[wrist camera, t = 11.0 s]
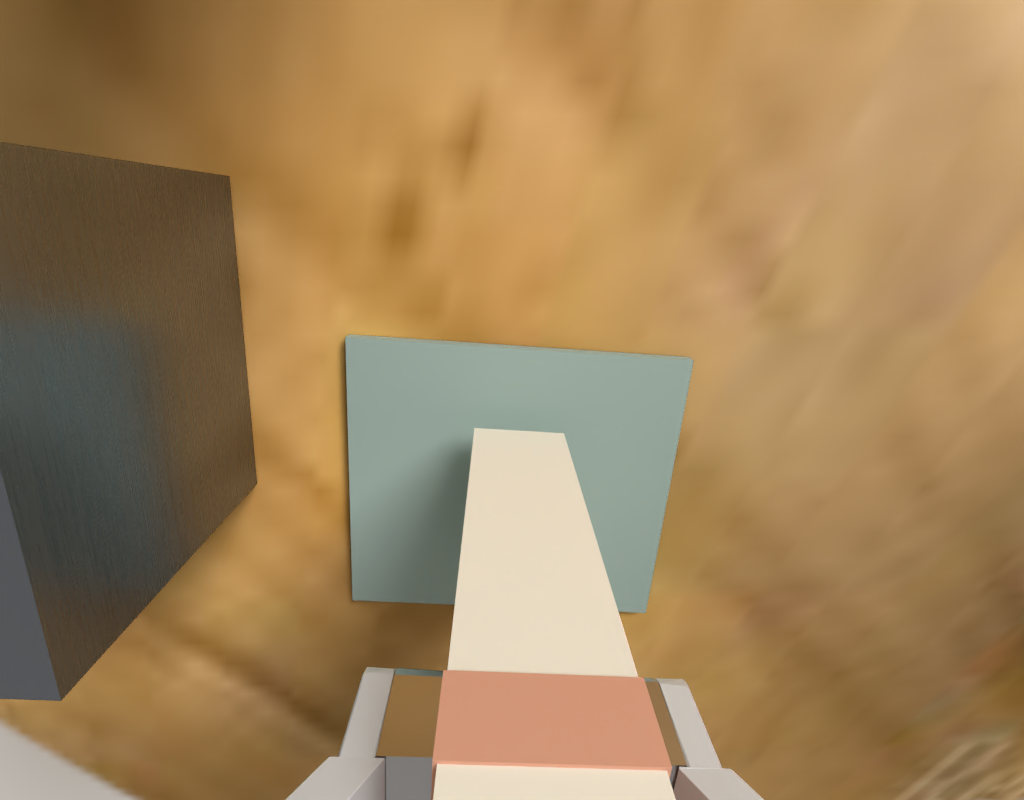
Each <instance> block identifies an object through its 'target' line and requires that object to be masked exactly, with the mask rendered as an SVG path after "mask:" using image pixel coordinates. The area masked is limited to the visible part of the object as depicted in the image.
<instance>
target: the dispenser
mask: <svg viewBox="0 0 1024 800" xmlns="http://www.w3.org/2000/svg"><path fill="white" fill-rule="evenodd" d="M256 484H257V479H256V468H255V456H254V445H253V434H252V423H251V412H250V401H249V390H248V379H247V368H246V357H245V345H244V334H243V323H242V312H241V301H240V290H239V279H238V268H237V257H236V246H235V234H234V223H233V212H232V201H231V190H230V179H229V176H224V175H217V174H211V173H204V172H197V171H191V170H184V169H177V168H171V167H164V166H157V165H151V164H144V163H137V162H130V161H124V160H117V159H110V158H104V157H97V156H90V155H84V154H77V153H70V152H64V151H57V150H50V149H44V148H37V147H30V146H24V145H17V144H10V143H4V142H0V699H24V700H54V701H61V700H62V699H63V698H64V697H65V696H66V695H67V694H68V692H69V691H70V690H71V689H72V688H73V687H74V686H75V685H76V684H77V682H78V681H79V680H80V679H81V678H82V677H83V676H84V675H85V674H86V672H87V671H88V670H89V669H90V668H91V667H92V666H93V665H94V664H95V663H96V661H97V660H98V659H99V658H100V657H101V656H102V655H103V654H104V653H105V651H106V650H107V649H108V648H109V647H110V646H111V645H112V644H113V643H114V641H115V640H116V639H117V638H118V637H119V636H120V635H121V634H122V633H123V631H124V630H125V629H126V628H127V627H128V626H129V625H130V624H131V623H132V621H133V620H134V619H135V618H136V617H137V616H138V615H139V614H140V613H141V611H142V610H143V609H144V608H145V607H146V606H147V605H148V604H149V603H150V602H151V600H152V599H153V598H154V597H155V596H156V595H157V594H158V593H159V592H160V590H161V589H162V588H163V587H164V586H165V585H166V584H167V583H168V582H169V580H170V579H171V578H172V577H173V576H174V575H175V574H176V573H177V572H178V570H179V569H180V568H181V567H182V566H183V565H184V564H185V563H186V562H187V560H188V559H189V558H190V557H191V556H192V555H193V554H194V553H195V552H196V550H197V549H198V548H199V547H200V546H201V545H202V544H203V543H204V542H205V541H206V539H207V538H208V537H209V536H210V535H211V534H212V533H213V532H214V531H215V529H216V528H217V527H218V526H219V525H220V524H221V523H222V522H223V521H224V519H225V518H226V517H227V516H228V515H229V514H230V513H231V512H232V511H233V509H234V508H235V507H236V506H237V505H238V504H239V503H240V502H241V501H242V499H243V498H244V497H245V496H246V495H247V494H248V493H249V492H250V491H251V490H252V488H253V487H254V486H255V485H256Z"/></svg>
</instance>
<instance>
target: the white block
mask: <svg viewBox="0 0 1024 800" xmlns="http://www.w3.org/2000/svg"><path fill="white" fill-rule="evenodd" d="M671 771H672V765H671V762H670V759H669V756H668V753H667V749H666V746H665V743H664V740H663V737H662V734H661V730H660V727H659V724H658V721H657V718H656V715H655V712H654V708H653V705H652V702H651V699H650V696H649V693H648V689H647V686H646V683H645V680H644V677H638V674H637V671H636V668H635V664H634V661H633V658H632V655H631V651H630V648H629V645H628V641H627V638H626V635H625V632H624V628H623V625H622V622H621V618H620V615H619V612H618V609H617V605H616V602H615V599H614V596H613V592H612V589H611V586H610V582H609V579H608V576H607V573H606V569H605V566H604V563H603V560H602V556H601V553H600V550H599V546H598V543H597V540H596V537H595V533H594V530H593V527H592V523H591V520H590V517H589V514H588V510H587V507H586V504H585V501H584V497H583V494H582V491H581V487H580V484H579V481H578V478H577V474H576V471H575V468H574V464H573V461H572V458H571V455H570V451H569V448H568V445H567V442H566V438H565V435H564V433H552V432H535V431H518V430H501V429H484V428H474V436H473V445H472V454H471V463H470V472H469V481H468V490H467V499H466V508H465V517H464V526H463V535H462V544H461V553H460V562H459V571H458V580H457V589H456V598H455V607H454V616H453V625H452V634H451V643H450V652H449V661H448V670H443V677H442V685H441V693H440V702H439V710H438V718H437V727H436V735H435V743H434V751H433V760H432V787H431V800H676V799H675V795H674V792H673V789H672V786H671V782H670V775H671Z"/></svg>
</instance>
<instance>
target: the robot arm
mask: <svg viewBox="0 0 1024 800" xmlns="http://www.w3.org/2000/svg"><path fill="white" fill-rule="evenodd" d="M442 677H443V671H433V670H418V669H403V668H397V669H394V668H378V667H367V668H366V670H365V671H364V673H363V675H362V678H361V681H360V685H359V688H358V692H357V695H356V698H355V702H354V705H353V708H352V712H351V715H350V718H349V722H348V725H347V728H346V732H345V735H344V739H343V742H342V745H341V749H340V752H339V755H338V756H329V757H328V758H327V759H326V760H325V761H324V762H323V763H322V764H321V765H320V766H319V767H318V768H317V769H316V770H315V771H314V772H312V773H311V774H310V775H309V776H308V777H307V778H306V779H305V780H304V781H303V782H302V783H301V784H300V785H299V786H298V787H297V788H296V789H295V790H294V791H293V792H292V793H291V794H290V795H289V796H288V797H287V798H286V799H285V800H431V787H432V760H433V751H434V743H435V735H436V727H437V718H438V710H439V702H440V693H441V685H442ZM644 680H645V683H646V686H647V689H648V693H649V696H650V699H651V702H652V705H653V708H654V712H655V715H656V718H657V721H658V724H659V727H660V730H661V734H662V737H663V740H664V743H665V746H666V749H667V753H668V756H669V759H670V762H671V765H672V771H671V775H670V782H671V786H672V789H673V792H674V795H675V799H676V800H764V799H763V798H762V797H761V796H760V795H759V794H758V793H757V792H756V791H754V790H753V789H752V788H751V787H750V786H749V785H748V784H747V783H746V782H745V781H744V780H743V779H742V778H741V777H740V776H739V775H737V774H736V773H735V772H734V771H733V770H732V769H727V768H722V766H721V764H720V761H719V759H718V756H717V754H716V752H715V749H714V747H713V744H712V742H711V740H710V737H709V735H708V732H707V730H706V727H705V725H704V723H703V720H702V718H701V715H700V713H699V710H698V708H697V706H696V703H695V701H694V698H693V696H692V694H691V691H690V689H689V686H688V684H687V683H686V682H685V681H684V680H683V679H660V678H655V679H653V678H644Z"/></svg>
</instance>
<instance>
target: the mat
mask: <svg viewBox="0 0 1024 800" xmlns="http://www.w3.org/2000/svg"><path fill="white" fill-rule="evenodd" d="M345 345H346V382H347V418H348V455H349V491H350V527H351V564H352V600H358V601H381V602H404V603H427V604H450V605H455V598H456V589H457V580H458V571H459V562H460V553H461V544H462V535H463V526H464V517H465V508H466V499H467V490H468V481H469V472H470V463H471V454H472V445H473V436H474V428H484V429H501V430H518V431H535V432H552V433H564V435H565V438H566V442H567V445H568V448H569V451H570V455H571V458H572V461H573V464H574V468H575V471H576V474H577V478H578V481H579V484H580V487H581V491H582V494H583V497H584V501H585V504H586V507H587V510H588V514H589V517H590V520H591V523H592V527H593V530H594V533H595V537H596V540H597V543H598V546H599V550H600V553H601V556H602V560H603V563H604V566H605V569H606V573H607V576H608V579H609V582H610V586H611V589H612V592H613V596H614V599H615V602H616V605H617V609H618V612H635V613H646V609H647V603H648V598H649V593H650V587H651V582H652V577H653V572H654V566H655V561H656V556H657V551H658V545H659V540H660V535H661V530H662V524H663V519H664V514H665V509H666V503H667V498H668V493H669V488H670V482H671V477H672V472H673V467H674V461H675V456H676V451H677V446H678V440H679V435H680V430H681V424H682V419H683V414H684V409H685V403H686V398H687V393H688V388H689V382H690V377H691V372H692V367H693V361H694V360H692V359H691V358H690V357H680V356H665V355H650V354H635V353H620V352H605V351H590V350H575V349H560V348H545V347H530V346H515V345H500V344H485V343H470V342H456V341H441V340H426V339H411V338H396V337H381V336H366V335H351V334H349V335H348V336H346V337H345Z"/></svg>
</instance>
